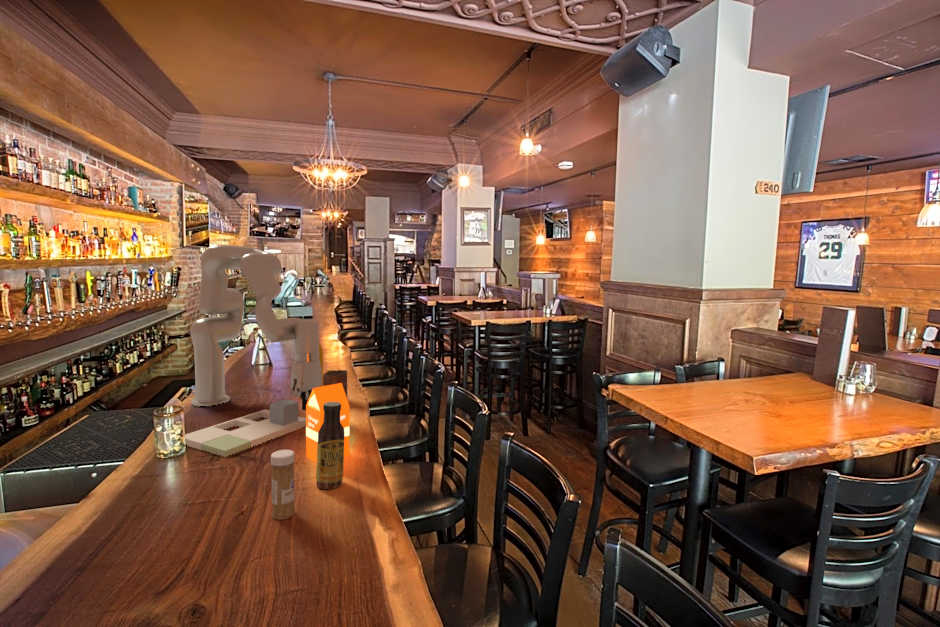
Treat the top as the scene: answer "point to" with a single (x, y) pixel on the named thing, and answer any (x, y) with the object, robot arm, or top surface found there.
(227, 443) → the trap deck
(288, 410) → the block
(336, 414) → the sauce bottle
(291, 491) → the sprinkles bottle
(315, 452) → the orange juice
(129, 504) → the top surface
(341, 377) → the brown piece
